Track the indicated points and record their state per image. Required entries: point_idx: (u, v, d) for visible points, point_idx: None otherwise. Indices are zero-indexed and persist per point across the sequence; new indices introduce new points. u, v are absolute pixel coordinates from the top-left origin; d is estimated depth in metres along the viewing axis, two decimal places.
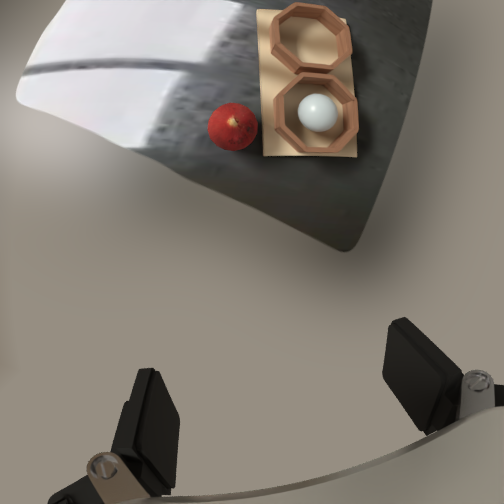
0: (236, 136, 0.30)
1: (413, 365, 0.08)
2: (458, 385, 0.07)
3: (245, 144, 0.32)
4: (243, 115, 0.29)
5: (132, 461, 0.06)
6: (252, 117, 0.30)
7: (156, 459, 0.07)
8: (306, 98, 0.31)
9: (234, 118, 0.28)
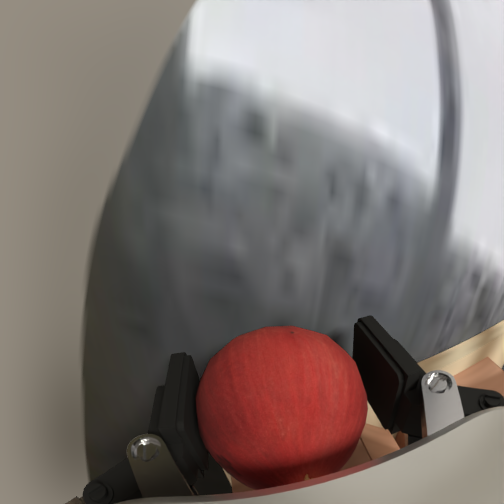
0: (248, 484, 0.06)
1: (375, 363, 0.09)
2: (420, 385, 0.08)
3: None
4: None
5: (172, 442, 0.07)
6: None
7: (194, 440, 0.08)
8: None
9: None
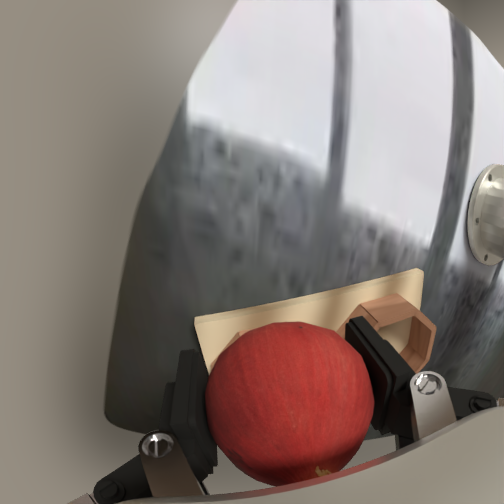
0: (258, 477, 0.07)
1: (365, 363, 0.09)
2: (409, 386, 0.08)
3: None
4: None
5: (183, 438, 0.07)
6: None
7: (204, 435, 0.08)
8: None
9: None
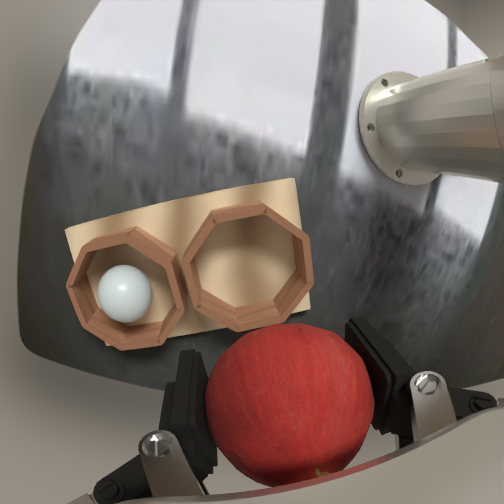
0: (258, 479, 0.06)
1: (365, 363, 0.09)
2: (409, 386, 0.08)
3: None
4: None
5: (183, 438, 0.07)
6: None
7: (204, 435, 0.08)
8: (133, 276, 0.22)
9: None
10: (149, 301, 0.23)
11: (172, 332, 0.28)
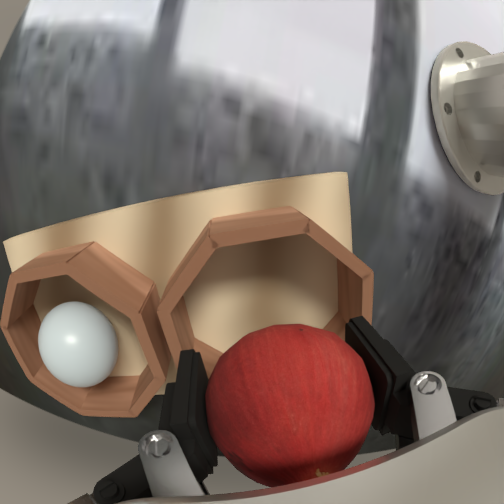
0: (259, 480, 0.06)
1: (365, 363, 0.09)
2: (409, 386, 0.08)
3: None
4: None
5: (183, 438, 0.07)
6: None
7: (204, 435, 0.08)
8: (83, 325, 0.13)
9: None
10: (112, 361, 0.14)
11: None
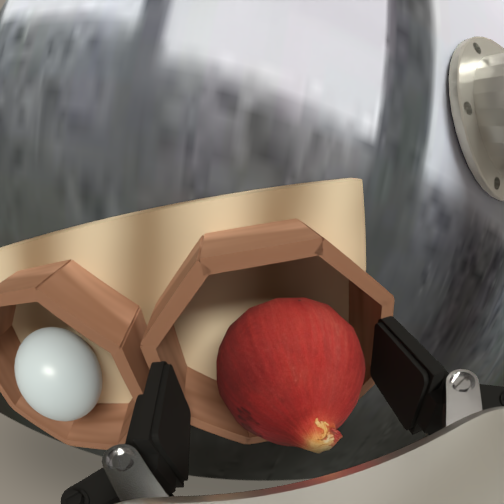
0: (265, 433, 0.08)
1: (398, 363, 0.09)
2: (443, 384, 0.07)
3: None
4: None
5: (148, 453, 0.07)
6: None
7: (171, 451, 0.07)
8: (60, 357, 0.10)
9: (330, 447, 0.07)
10: (95, 395, 0.11)
11: None
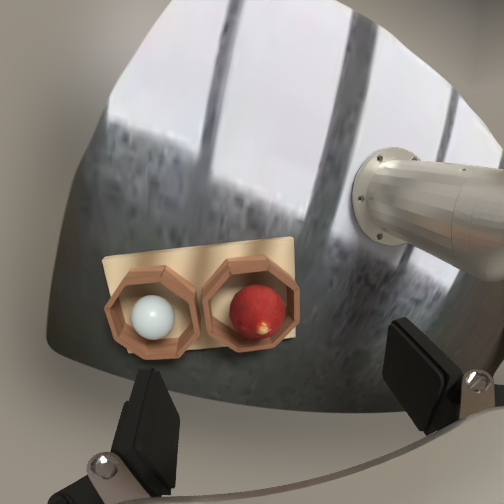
0: (246, 329, 0.28)
1: (413, 365, 0.08)
2: (458, 385, 0.07)
3: None
4: (270, 333, 0.28)
5: (132, 461, 0.06)
6: None
7: (156, 459, 0.07)
8: (162, 306, 0.29)
9: (267, 332, 0.27)
10: (173, 325, 0.30)
11: None
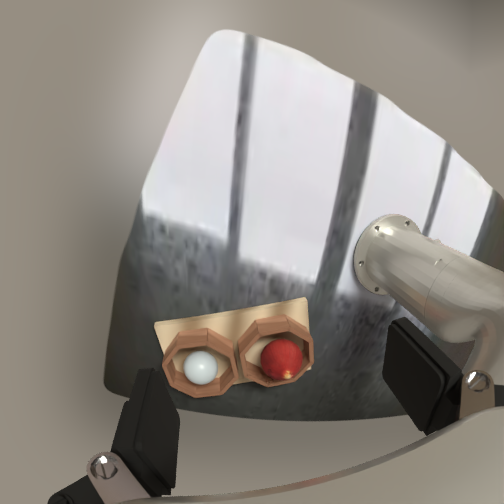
0: (274, 375, 0.36)
1: (413, 365, 0.08)
2: (458, 385, 0.07)
3: (267, 374, 0.38)
4: (292, 376, 0.36)
5: (132, 461, 0.06)
6: None
7: (156, 459, 0.07)
8: (209, 361, 0.38)
9: (290, 378, 0.35)
10: (217, 372, 0.39)
11: None
